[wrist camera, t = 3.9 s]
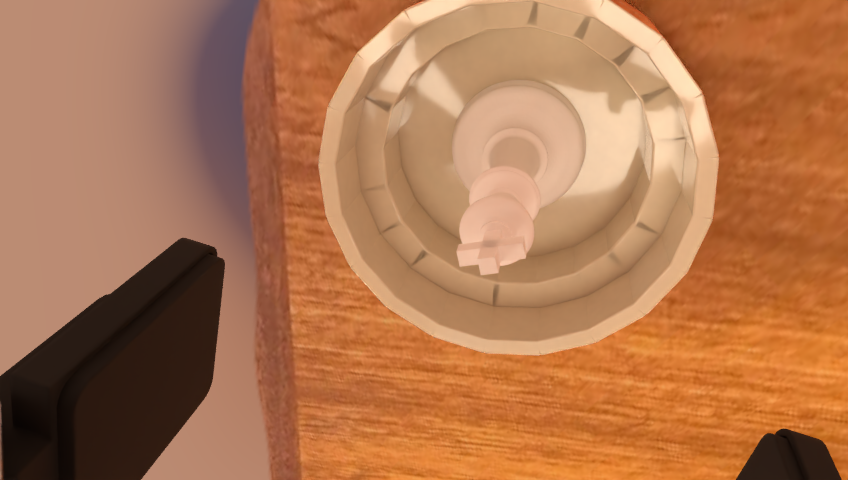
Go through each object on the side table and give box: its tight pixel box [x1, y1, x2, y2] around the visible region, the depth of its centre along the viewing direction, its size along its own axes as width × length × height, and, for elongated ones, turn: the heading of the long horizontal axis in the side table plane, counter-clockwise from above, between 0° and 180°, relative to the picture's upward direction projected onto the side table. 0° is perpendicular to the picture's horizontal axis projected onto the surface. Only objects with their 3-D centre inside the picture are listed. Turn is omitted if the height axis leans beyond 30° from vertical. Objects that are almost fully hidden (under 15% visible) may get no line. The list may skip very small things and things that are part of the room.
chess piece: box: [452, 80, 586, 275], centre depth 21 cm, size 5×5×10 cm
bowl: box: [318, 0, 719, 356], centre depth 23 cm, size 12×12×5 cm
